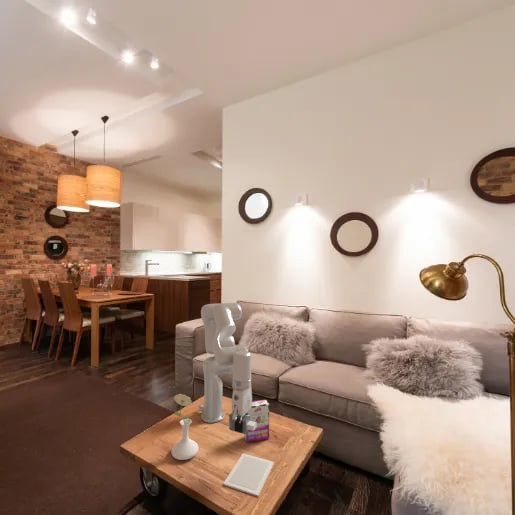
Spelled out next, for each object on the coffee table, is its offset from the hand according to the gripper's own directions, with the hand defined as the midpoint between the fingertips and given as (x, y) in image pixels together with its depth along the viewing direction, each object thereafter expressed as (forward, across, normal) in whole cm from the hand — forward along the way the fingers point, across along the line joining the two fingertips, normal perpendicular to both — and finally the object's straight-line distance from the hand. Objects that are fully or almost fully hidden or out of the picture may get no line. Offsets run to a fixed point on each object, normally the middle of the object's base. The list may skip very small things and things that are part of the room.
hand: (241, 428), depth 116 cm
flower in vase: (+16, -2, +27) cm, 31 cm away
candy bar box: (+16, +21, +2) cm, 26 cm away
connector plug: (+1, 0, 0) cm, 1 cm away
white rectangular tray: (+16, -1, -4) cm, 17 cm away
